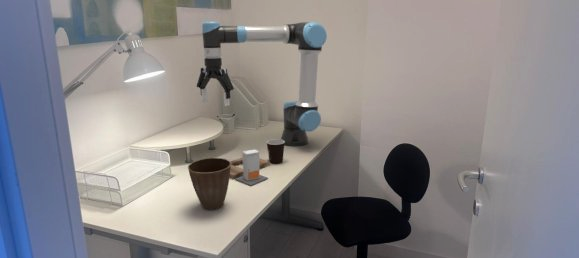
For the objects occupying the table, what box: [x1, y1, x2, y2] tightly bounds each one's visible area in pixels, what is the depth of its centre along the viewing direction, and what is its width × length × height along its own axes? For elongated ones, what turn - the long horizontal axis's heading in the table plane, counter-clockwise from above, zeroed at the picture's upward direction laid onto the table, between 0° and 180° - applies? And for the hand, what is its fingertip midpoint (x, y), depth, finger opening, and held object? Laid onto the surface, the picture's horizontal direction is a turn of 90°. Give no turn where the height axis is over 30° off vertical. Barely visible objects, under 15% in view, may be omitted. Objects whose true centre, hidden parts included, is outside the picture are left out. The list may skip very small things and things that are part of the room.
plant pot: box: [187, 157, 231, 211], centre depth 139 cm, size 15×15×16 cm
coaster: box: [234, 174, 269, 187], centre depth 164 cm, size 10×10×1 cm
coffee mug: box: [266, 138, 285, 165], centre depth 185 cm, size 12×9×10 cm
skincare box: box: [242, 149, 261, 181], centre depth 162 cm, size 6×4×12 cm
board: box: [229, 156, 271, 181], centre depth 176 cm, size 22×14×2 cm, turn 138°
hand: (215, 104), depth 176 cm, fingers open, 13 cm apart
